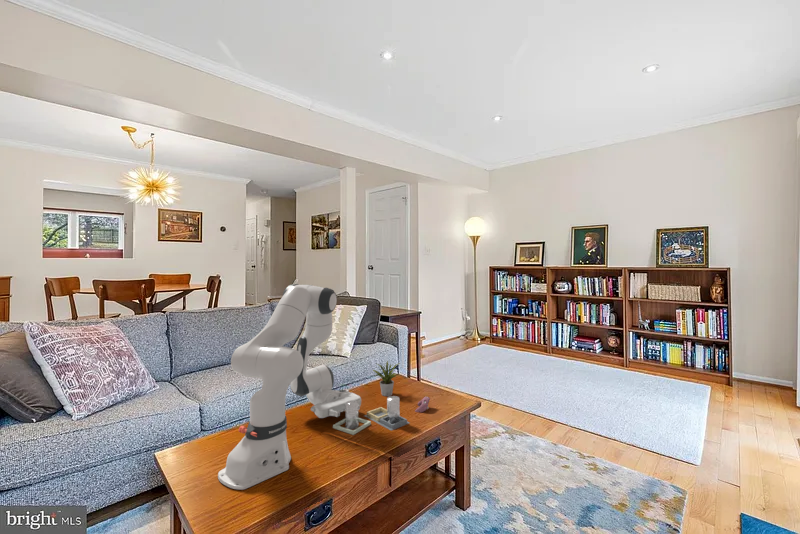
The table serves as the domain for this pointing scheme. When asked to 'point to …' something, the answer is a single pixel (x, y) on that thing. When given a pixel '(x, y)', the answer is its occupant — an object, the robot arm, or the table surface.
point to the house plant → (386, 380)
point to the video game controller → (423, 404)
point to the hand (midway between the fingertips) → (348, 411)
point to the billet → (393, 409)
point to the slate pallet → (384, 419)
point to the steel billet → (351, 414)
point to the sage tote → (338, 427)
